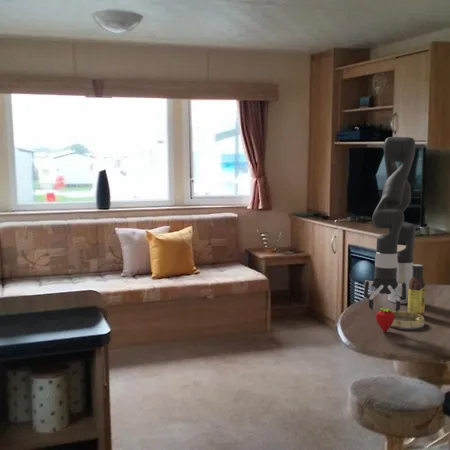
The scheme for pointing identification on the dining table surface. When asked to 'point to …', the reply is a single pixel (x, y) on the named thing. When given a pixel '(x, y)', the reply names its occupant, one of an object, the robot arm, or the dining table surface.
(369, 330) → the dining table surface
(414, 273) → the sauce bottle
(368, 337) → the dining table surface
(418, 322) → the tan rimmed round bowl
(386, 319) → the strawberry
